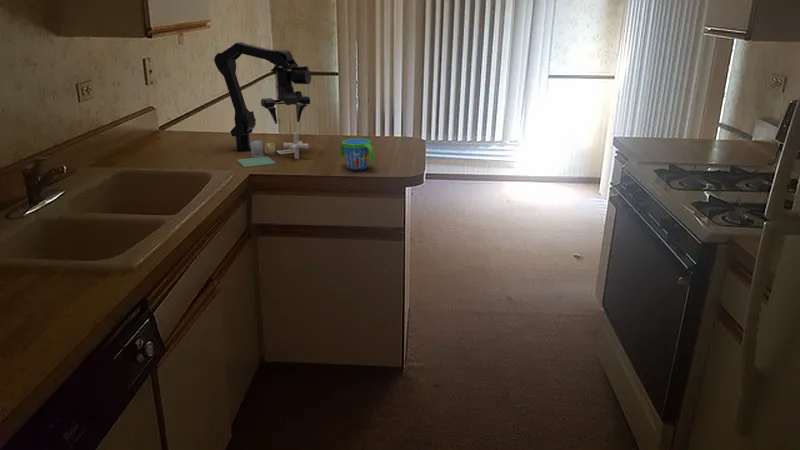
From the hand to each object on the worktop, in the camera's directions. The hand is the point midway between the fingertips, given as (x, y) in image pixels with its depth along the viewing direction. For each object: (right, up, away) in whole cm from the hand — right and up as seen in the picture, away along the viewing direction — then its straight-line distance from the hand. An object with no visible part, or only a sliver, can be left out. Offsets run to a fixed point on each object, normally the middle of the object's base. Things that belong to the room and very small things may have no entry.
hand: (287, 123), depth 250 cm
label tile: (-1, -11, +5) cm, 12 cm away
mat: (-10, -17, -11) cm, 23 cm away
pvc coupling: (-12, -14, -2) cm, 18 cm away
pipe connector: (+5, -15, -5) cm, 17 cm away
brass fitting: (-7, -12, +2) cm, 14 cm away
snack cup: (+30, -20, -20) cm, 41 cm away
